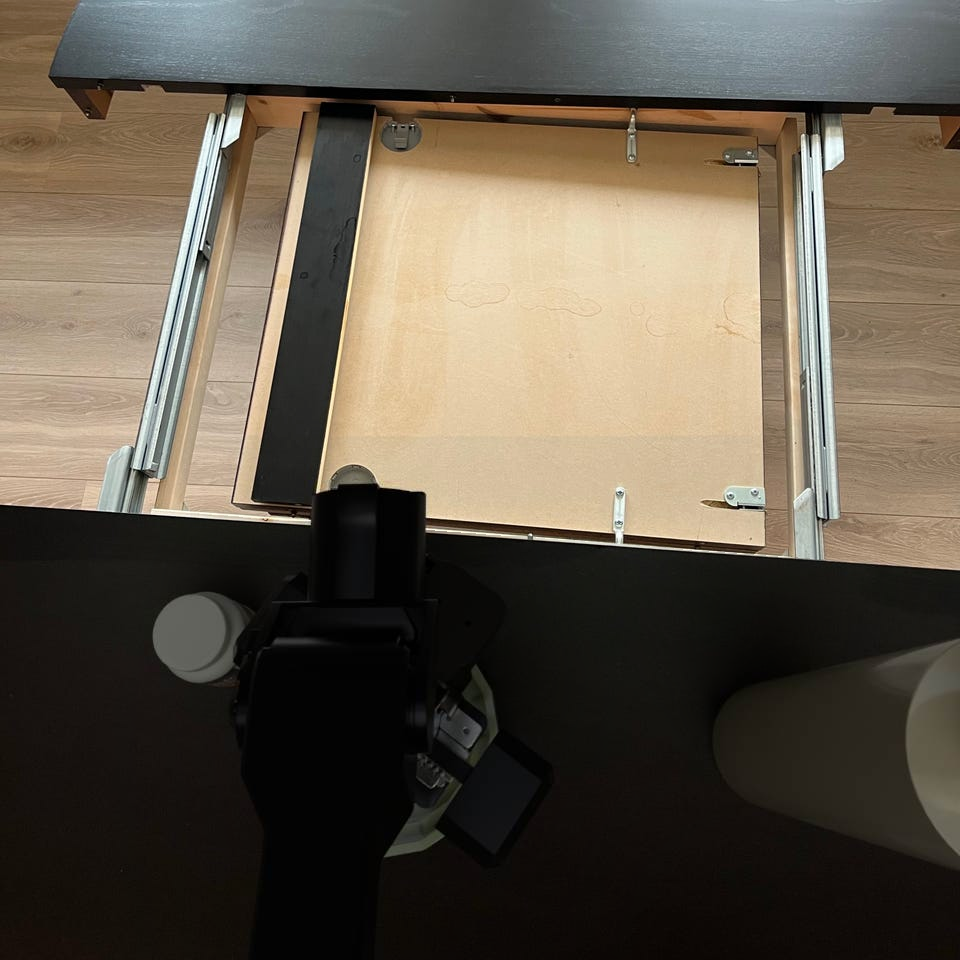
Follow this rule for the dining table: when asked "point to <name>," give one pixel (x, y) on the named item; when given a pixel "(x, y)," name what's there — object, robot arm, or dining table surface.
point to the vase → (855, 749)
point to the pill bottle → (201, 637)
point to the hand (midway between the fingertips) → (407, 714)
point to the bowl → (423, 821)
